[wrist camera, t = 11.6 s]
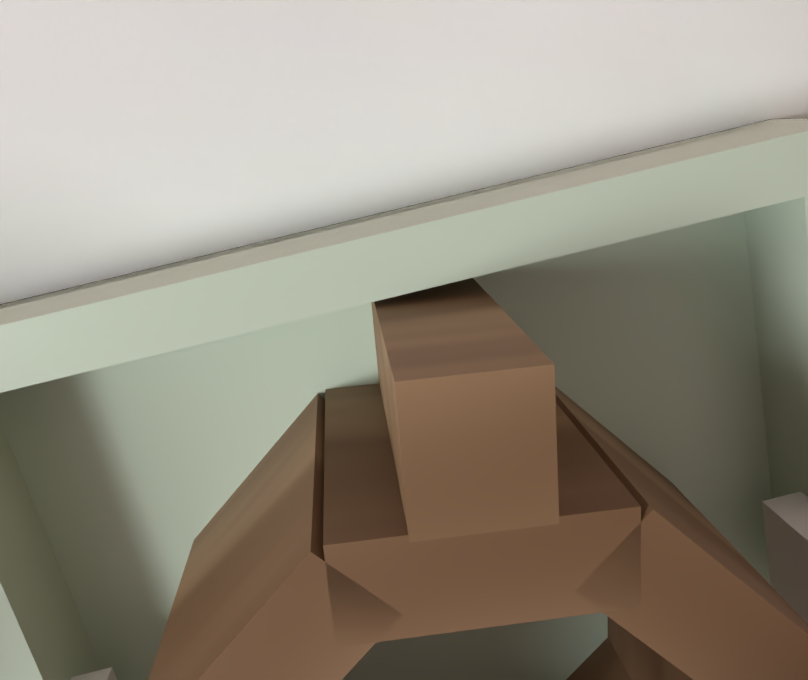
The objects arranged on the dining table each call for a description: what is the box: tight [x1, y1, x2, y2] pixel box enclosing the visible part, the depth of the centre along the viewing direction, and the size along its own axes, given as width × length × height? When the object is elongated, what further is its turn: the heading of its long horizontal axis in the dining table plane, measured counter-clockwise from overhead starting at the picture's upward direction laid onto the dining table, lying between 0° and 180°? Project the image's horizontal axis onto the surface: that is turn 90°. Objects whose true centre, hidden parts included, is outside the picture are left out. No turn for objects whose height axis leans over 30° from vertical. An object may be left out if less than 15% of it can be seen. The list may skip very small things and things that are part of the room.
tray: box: [0, 119, 808, 680], centre depth 15 cm, size 16×16×2 cm
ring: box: [148, 278, 808, 680], centre depth 13 cm, size 12×10×6 cm
